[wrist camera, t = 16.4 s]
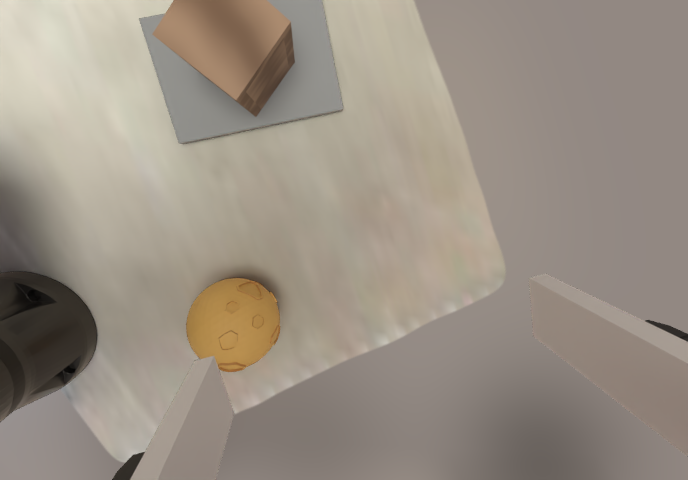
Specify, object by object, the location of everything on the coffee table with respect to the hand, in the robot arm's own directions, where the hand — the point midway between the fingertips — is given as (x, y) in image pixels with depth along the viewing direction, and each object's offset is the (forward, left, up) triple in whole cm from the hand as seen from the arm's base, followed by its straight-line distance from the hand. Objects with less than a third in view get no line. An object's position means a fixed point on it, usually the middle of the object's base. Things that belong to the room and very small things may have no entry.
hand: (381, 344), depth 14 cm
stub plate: (-5, +18, -29) cm, 34 cm away
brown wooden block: (-5, +18, -27) cm, 33 cm away
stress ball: (-13, -8, -29) cm, 33 cm away
